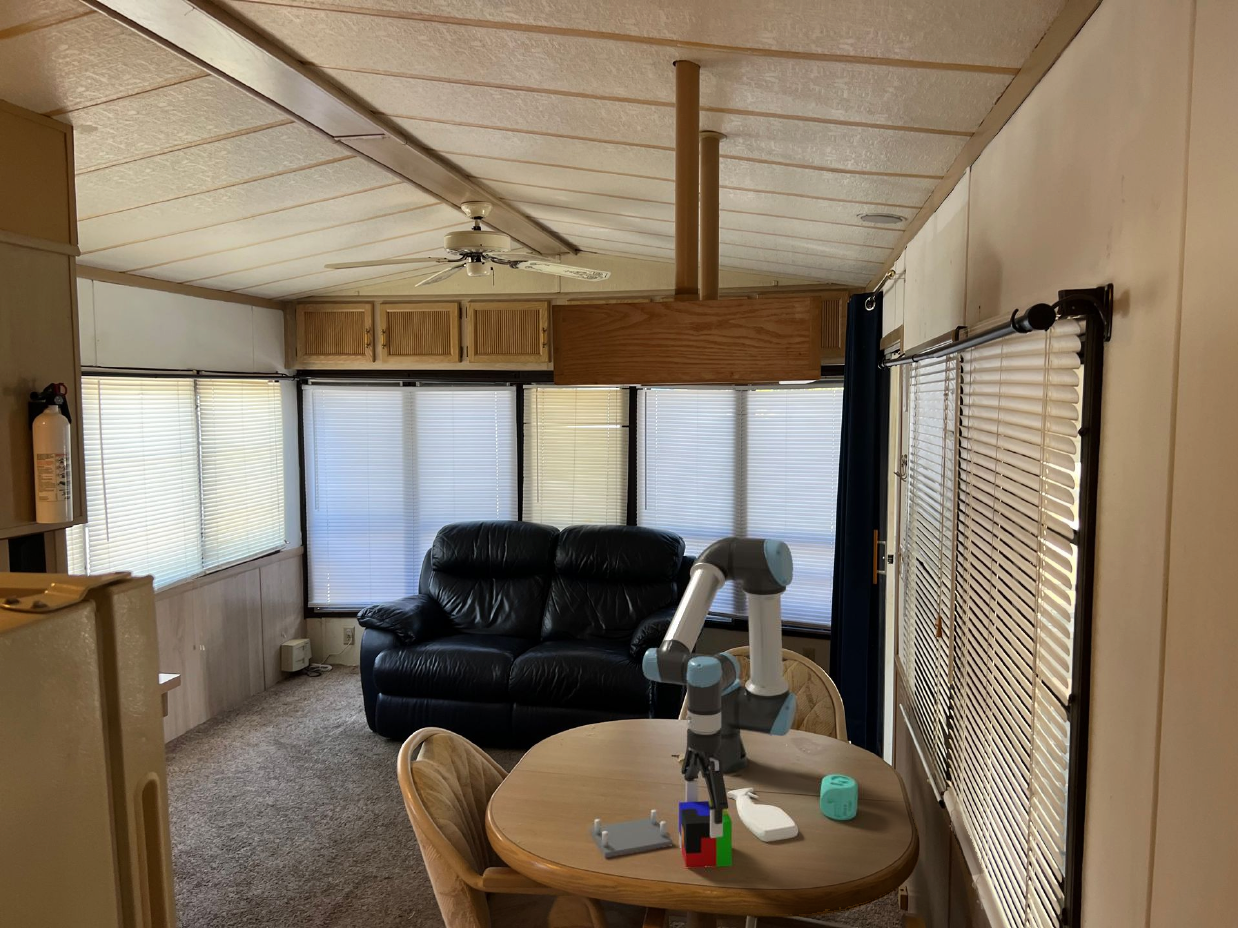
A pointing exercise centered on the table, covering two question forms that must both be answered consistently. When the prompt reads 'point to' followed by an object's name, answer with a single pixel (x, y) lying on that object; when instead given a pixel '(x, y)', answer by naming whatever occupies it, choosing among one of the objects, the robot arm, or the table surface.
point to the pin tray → (630, 836)
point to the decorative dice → (839, 797)
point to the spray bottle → (763, 817)
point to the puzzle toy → (703, 836)
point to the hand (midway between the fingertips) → (703, 822)
